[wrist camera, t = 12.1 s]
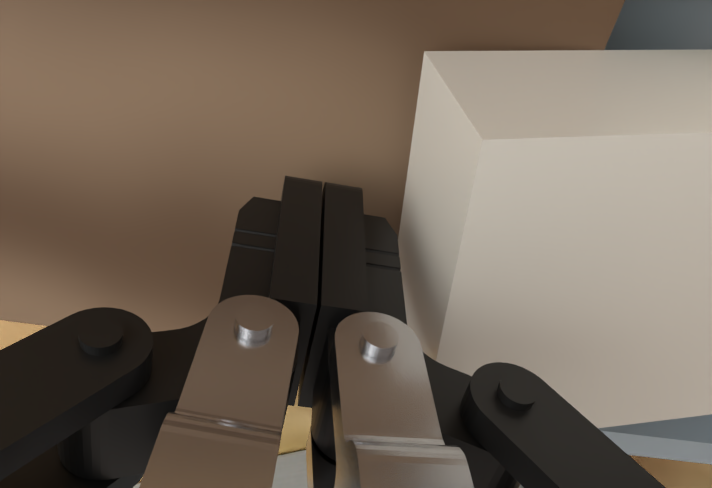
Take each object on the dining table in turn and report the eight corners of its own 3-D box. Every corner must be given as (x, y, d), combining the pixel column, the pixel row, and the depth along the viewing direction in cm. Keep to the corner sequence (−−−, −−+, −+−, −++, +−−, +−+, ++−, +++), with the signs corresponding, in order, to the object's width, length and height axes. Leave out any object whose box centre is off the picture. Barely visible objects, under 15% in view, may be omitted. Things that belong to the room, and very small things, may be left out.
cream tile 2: (424, 50, 12) (482, 139, 9) (780, 48, 13) (909, 125, 11) (383, 341, 16) (417, 450, 14) (654, 316, 17) (726, 412, 15)
